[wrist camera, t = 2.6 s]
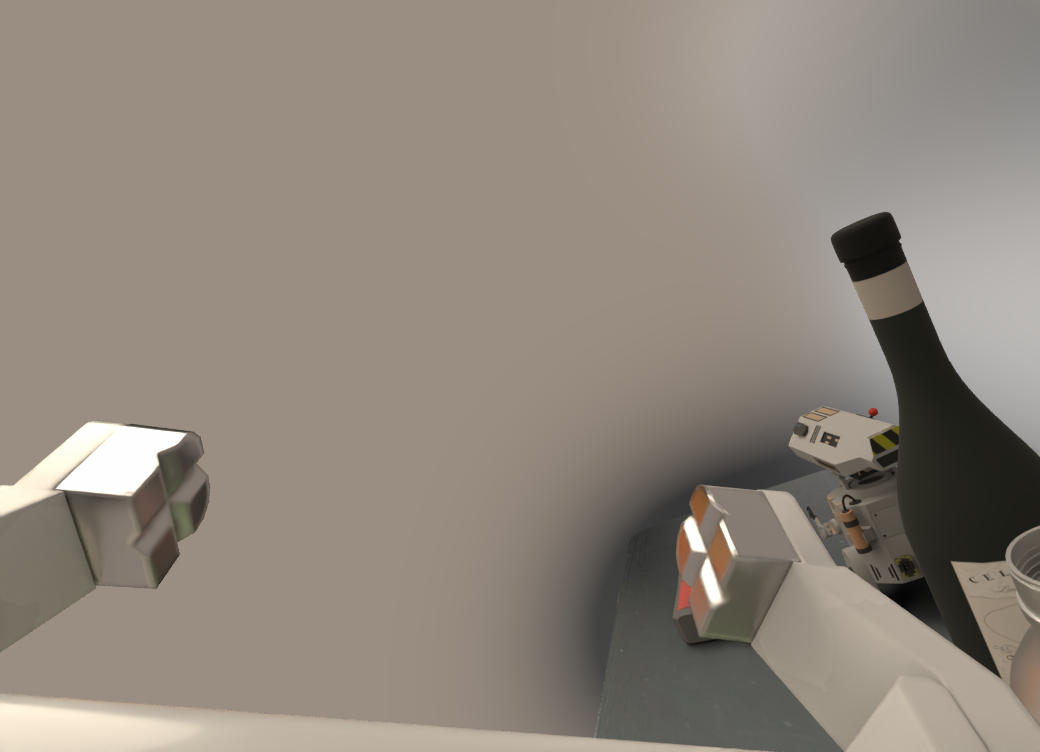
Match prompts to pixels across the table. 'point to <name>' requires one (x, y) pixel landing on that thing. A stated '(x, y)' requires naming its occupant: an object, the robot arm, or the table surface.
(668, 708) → the table surface
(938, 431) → the wine bottle
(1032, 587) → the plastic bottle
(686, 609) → the walkie-talkie
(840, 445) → the figurine
